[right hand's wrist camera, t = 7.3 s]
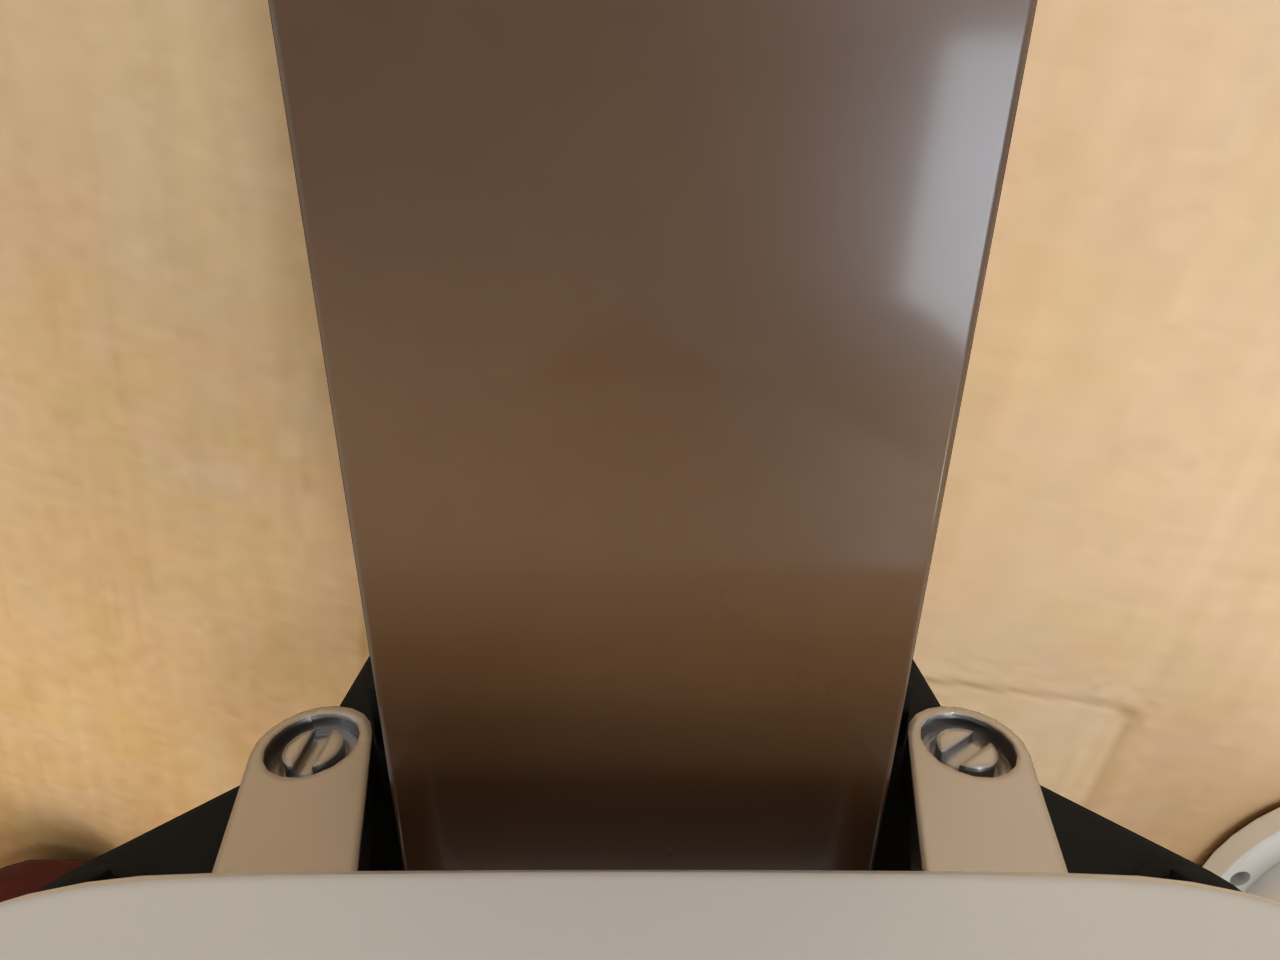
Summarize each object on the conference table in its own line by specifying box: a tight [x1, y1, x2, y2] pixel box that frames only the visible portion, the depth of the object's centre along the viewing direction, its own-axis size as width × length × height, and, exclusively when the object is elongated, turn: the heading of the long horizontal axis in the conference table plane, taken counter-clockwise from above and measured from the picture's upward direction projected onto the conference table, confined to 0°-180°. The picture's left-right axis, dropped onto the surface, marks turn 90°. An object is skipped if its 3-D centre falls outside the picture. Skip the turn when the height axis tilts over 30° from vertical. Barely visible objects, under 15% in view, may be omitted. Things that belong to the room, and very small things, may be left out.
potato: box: [0, 860, 85, 902], centre depth 30 cm, size 7×8×7 cm
